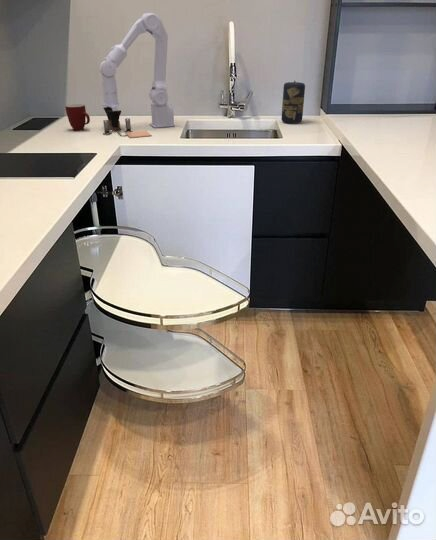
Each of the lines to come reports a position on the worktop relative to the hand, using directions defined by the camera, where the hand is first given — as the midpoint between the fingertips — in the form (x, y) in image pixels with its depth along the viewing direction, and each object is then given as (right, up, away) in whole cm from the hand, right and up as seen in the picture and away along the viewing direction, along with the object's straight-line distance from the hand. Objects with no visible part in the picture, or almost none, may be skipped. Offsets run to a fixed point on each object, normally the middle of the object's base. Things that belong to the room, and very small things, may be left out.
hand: (113, 125), depth 198 cm
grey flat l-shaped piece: (+5, -5, -7) cm, 10 cm away
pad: (+12, -7, -9) cm, 17 cm away
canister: (+79, +6, +13) cm, 80 cm away
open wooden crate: (0, -1, +1) cm, 1 cm away
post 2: (+7, -4, -5) cm, 10 cm away
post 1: (-1, -6, -8) cm, 10 cm away
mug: (-14, -2, 0) cm, 14 cm away
